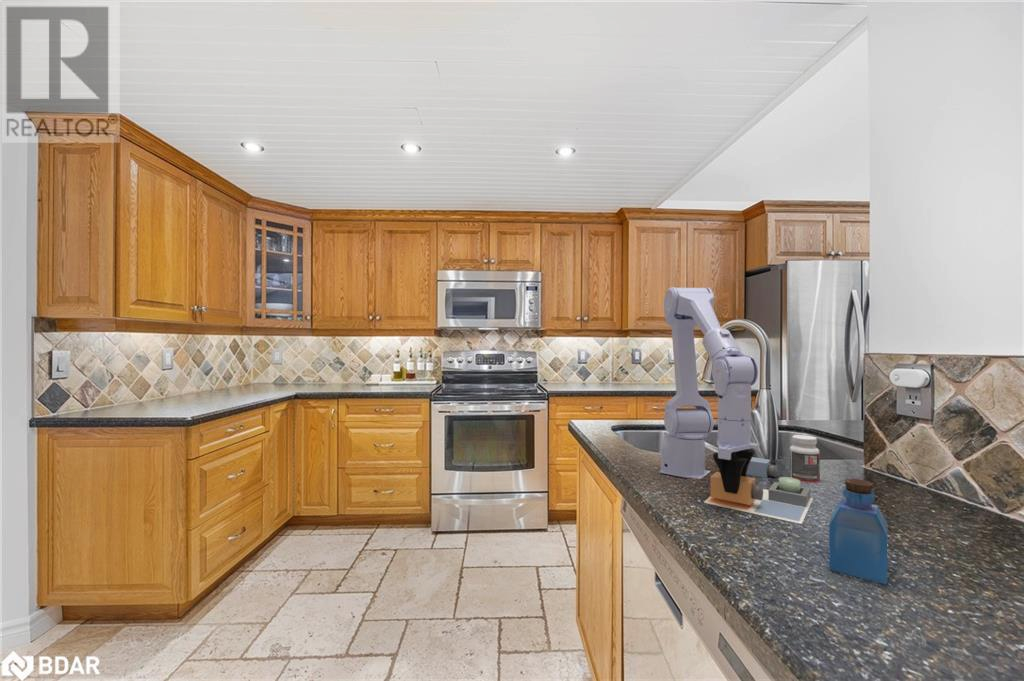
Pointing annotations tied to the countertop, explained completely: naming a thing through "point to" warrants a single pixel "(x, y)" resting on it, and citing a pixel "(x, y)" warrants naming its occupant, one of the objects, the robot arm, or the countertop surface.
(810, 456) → the pill bottle
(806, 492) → the button housing
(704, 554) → the countertop surface
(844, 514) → the perfume bottle
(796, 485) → the button
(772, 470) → the grey-capped blue block
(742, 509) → the sheet
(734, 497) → the orange marker
